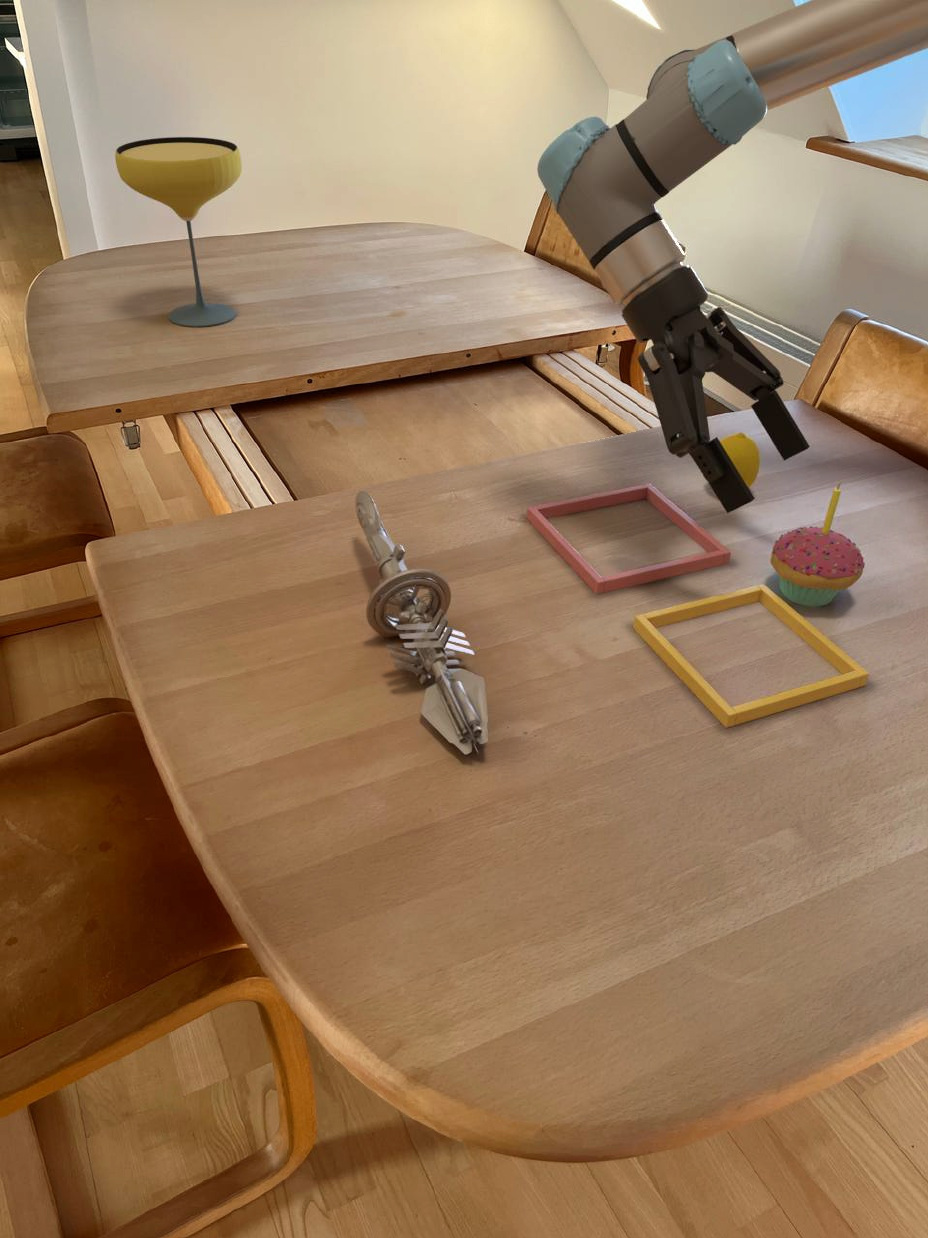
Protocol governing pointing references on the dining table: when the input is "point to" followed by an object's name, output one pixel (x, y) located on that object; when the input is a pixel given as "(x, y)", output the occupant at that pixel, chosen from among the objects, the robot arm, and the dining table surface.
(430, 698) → the spaceship
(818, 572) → the cupcake
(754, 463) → the lemon
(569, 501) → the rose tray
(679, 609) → the yellow square frame
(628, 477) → the dining table surface
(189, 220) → the cocktail glass
